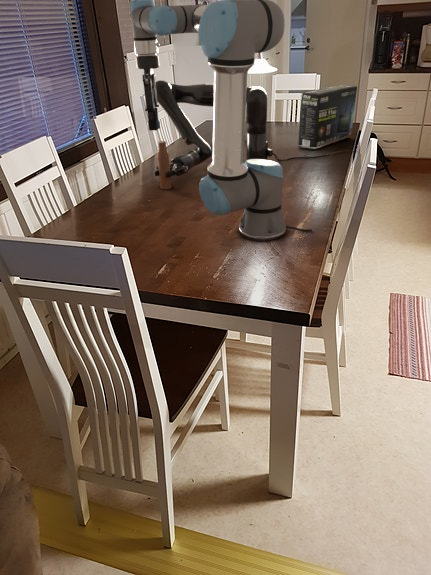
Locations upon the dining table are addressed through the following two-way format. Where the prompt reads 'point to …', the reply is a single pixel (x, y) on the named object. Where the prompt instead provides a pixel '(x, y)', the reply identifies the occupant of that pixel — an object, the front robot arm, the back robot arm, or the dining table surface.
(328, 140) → the router box
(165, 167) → the bottle
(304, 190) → the dining table surface
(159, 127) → the cap
